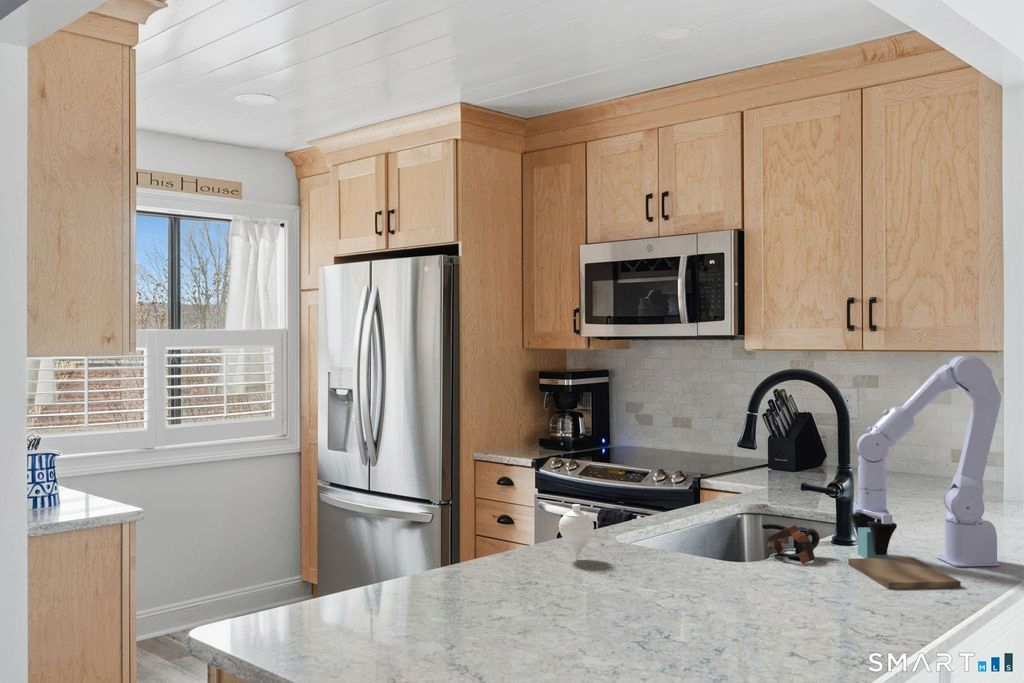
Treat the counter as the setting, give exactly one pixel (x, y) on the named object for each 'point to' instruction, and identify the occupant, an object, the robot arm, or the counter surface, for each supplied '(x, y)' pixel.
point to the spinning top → (576, 529)
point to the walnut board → (903, 573)
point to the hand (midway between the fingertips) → (872, 550)
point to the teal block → (867, 544)
